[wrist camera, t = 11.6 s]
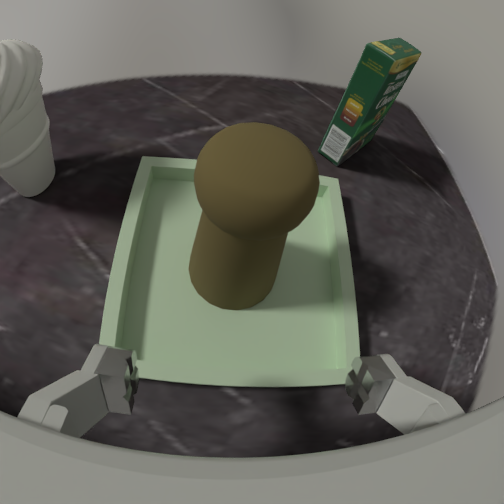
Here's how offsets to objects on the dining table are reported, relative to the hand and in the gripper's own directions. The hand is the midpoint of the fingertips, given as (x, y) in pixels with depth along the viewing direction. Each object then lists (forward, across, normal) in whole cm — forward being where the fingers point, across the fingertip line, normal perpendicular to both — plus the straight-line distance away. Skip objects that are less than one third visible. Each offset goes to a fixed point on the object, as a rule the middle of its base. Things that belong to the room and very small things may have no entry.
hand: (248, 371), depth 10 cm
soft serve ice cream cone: (+17, +19, -4) cm, 25 cm away
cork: (+11, 0, 0) cm, 11 cm away
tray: (+11, 0, +1) cm, 11 cm away
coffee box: (+22, -11, -10) cm, 27 cm away
